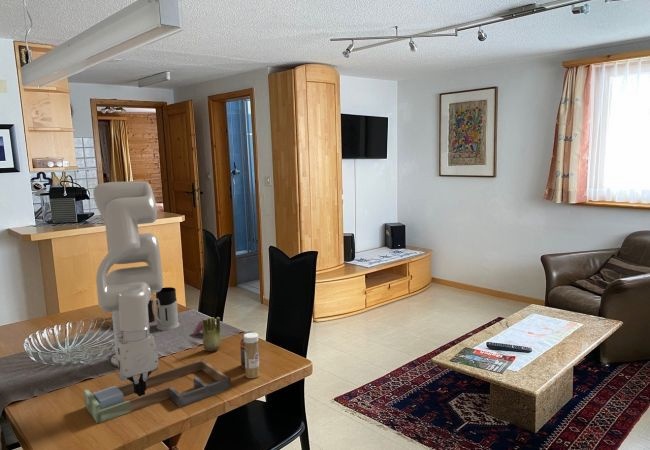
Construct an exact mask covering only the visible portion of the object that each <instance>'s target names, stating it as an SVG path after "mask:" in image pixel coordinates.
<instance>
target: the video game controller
mask: <svg viewBox="0 0 650 450" xmlns="http://www.w3.org/2000/svg"><path fill="white" fill-rule="evenodd" d="M203 319H204V318H203ZM203 319H201V320H200V321H199V322H198V324H197V325H196V327H195V328H194V330H193V335H194V336H197V335H198V334H200V333H201V331H202V334H204V325H203ZM210 321H211V318H210ZM207 324H208V320H207ZM215 325H216V320H215ZM211 328H212V323H211Z"/></svg>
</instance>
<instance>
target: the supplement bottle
mask: <svg viewBox="0 0 650 450" xmlns="http://www.w3.org/2000/svg"><path fill="white" fill-rule="evenodd" d="M247 333H256V331H252V330H251V331H250V330H249V331H248V330H247V331H245V332H243V333H242V339H241V340H240V343H239V344H240V345H239V346H240V367H241V369H244V370H245V354H244V350H245V349H244V335H245V334H247ZM258 352H259V353H260V341H259V340H258Z"/></svg>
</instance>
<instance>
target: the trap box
mask: <svg viewBox="0 0 650 450" xmlns="http://www.w3.org/2000/svg"><path fill="white" fill-rule="evenodd" d="M199 371H203V372H204V373H205V374H206V375H208V376H209V377H211V378H212V379H213V381H211V382H208V383H206V382H204V381H203V380H201V379H200V378H199V377H197V376H195V377H193V388H192V389H188V390H186V391H182V392H181V393H180V392H179V391H178V390H177V389H175V388H174V386H172V385H169V386H166V387H163V388H161V389H156V390H154V391H151V392H148V393H145V395H142V396H137V397H133V398H131V399H128V400H124V402H122V403H119V404H116V405H113V406H110V407H107V408H104V409H100V404H99V403H98V401H97V400H96V399H95V398H94V396H93V393H92V392H91V391H90V390H89V388H88V389H85V390H83V393H84V404H85V405H84V406H85V409H87V412H89V414H90V415H91V416H92V418H93V419H94V420H95V422H96V423H97V424H101V423H104V422H107V421H109V420H112V419H114V418H118V417H120V416H123V415H125V414H129V413H132V412H134V411H137V410H139V409H143V408H145V407H148V406H151V405H154V404H156V403H159V402H161V401H165V400H167V399H168V400H169V399H170V400H172V402H173V403H175V404H176V405H177V406H178V407H179V408H182V407H185V406H188V405H191V404H193V403H195V402H198V401H201V400H204V399H207V398H209V397H211V396H214V395H217V394H219V393H222V392H225V391H227V390H230V389H232V379H231V377H230V376H227V375H226V374H225V373H224V372H222V371H221V370H219V369H218V368H216V367H214V366H213V365H212V364H210V362H207V361H206V360H204V359H199V360H195V361H193V362H189V363H187V364H184V365H180V366H177V367H174V368H170V369H168V370H165V371H162V372H159V373H155V374H152V375H149V376H148V378H147V381H146V389H149V388H152V387H154V386H158V385H161V384H163V383H167V382H170V381H172V380H173V381H174V380H176V379H180V378H182V377H184V376H187V375H190V374H193V373H197V372H199ZM116 387H117V388H118V389H119V390H120V391H121V392H122V393H123V397H126V396H128V395H131V394H135V392H134V385H133V382H131V381H129V382H127V383H123V384H122V385H118V386H116Z"/></svg>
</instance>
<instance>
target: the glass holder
mask: <svg viewBox="0 0 650 450" xmlns="http://www.w3.org/2000/svg"><path fill="white" fill-rule="evenodd" d="M176 291H177V290H176V288H175V287H172V286H167V287H162V289H161V291H159V292H157V293H155V298H154V299H152V300H153V302H152V310H153V314H154V319H155V320H157V325H156V329H157V330H160V331H168V330H174V329H177V328H179V326H180V322H179V316H178V315H179V314H178V303H177V302H178V300H177V293H176ZM155 302H156V303H155ZM155 304H156V305H155ZM155 306H156V308H155ZM155 309H156V312H155Z"/></svg>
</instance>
